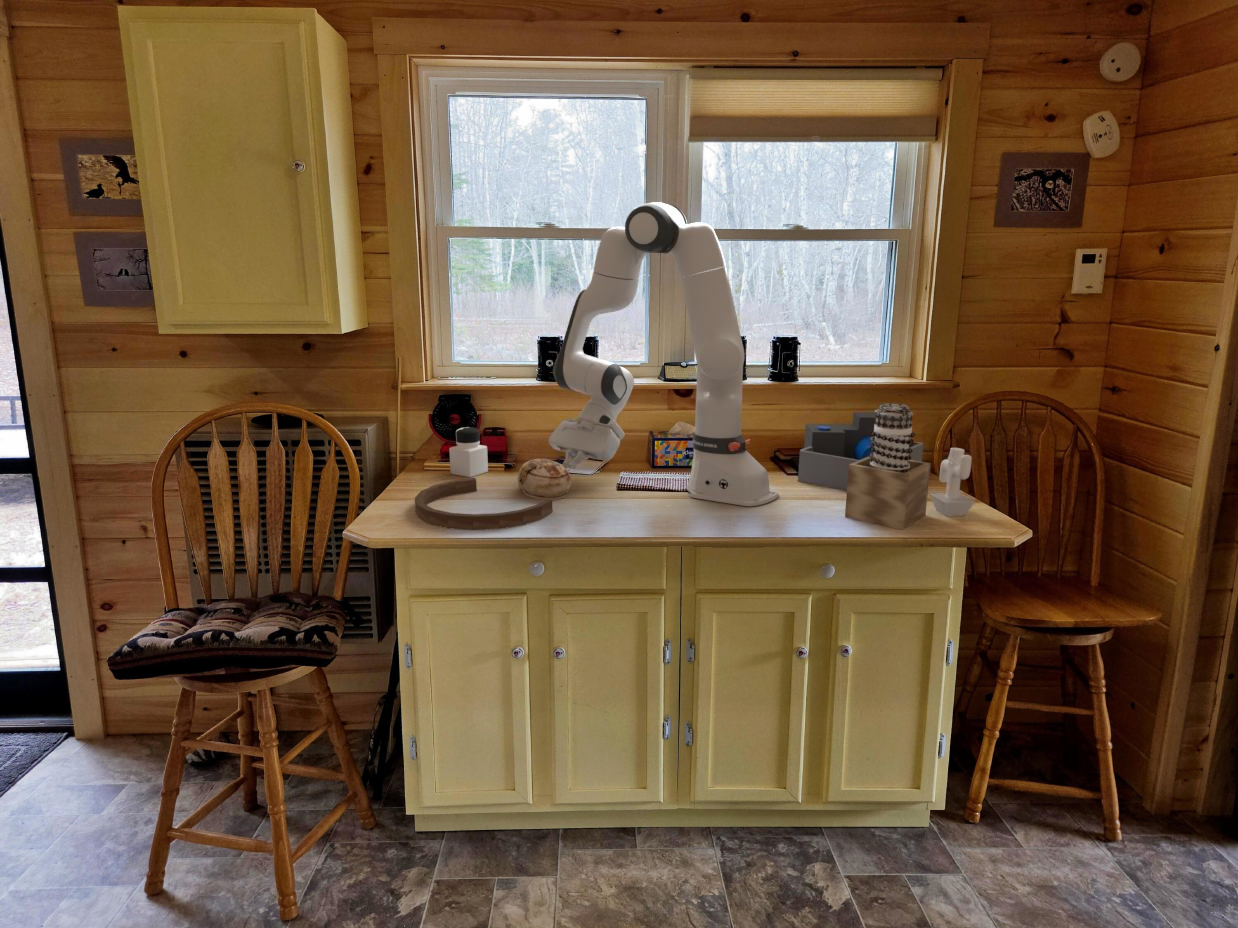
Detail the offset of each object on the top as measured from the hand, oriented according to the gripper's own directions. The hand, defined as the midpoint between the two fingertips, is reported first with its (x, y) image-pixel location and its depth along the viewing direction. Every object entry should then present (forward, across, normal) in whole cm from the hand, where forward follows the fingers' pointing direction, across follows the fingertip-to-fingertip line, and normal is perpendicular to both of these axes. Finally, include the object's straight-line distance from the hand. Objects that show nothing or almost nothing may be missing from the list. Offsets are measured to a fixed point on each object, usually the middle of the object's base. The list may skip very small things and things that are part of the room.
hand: (568, 466), depth 206 cm
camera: (-37, +50, +44) cm, 76 cm away
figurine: (-25, +81, +32) cm, 91 cm away
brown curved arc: (+25, 0, -19) cm, 31 cm away
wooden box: (-17, +71, +23) cm, 77 cm away
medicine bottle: (+10, -27, -4) cm, 29 cm away
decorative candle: (-17, +71, +23) cm, 77 cm away
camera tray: (-37, +52, +43) cm, 77 cm away
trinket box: (+10, +1, -3) cm, 10 cm away
